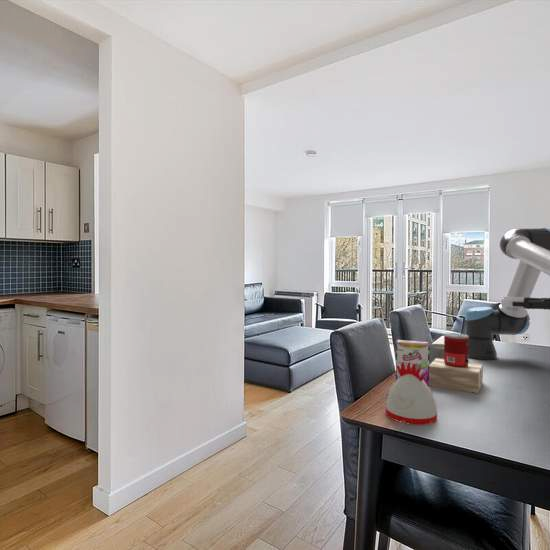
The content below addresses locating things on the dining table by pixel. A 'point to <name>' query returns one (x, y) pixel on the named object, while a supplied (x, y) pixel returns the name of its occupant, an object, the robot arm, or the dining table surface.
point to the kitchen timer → (411, 398)
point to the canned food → (456, 350)
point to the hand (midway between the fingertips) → (502, 301)
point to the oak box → (456, 376)
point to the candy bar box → (413, 357)
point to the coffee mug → (436, 352)
